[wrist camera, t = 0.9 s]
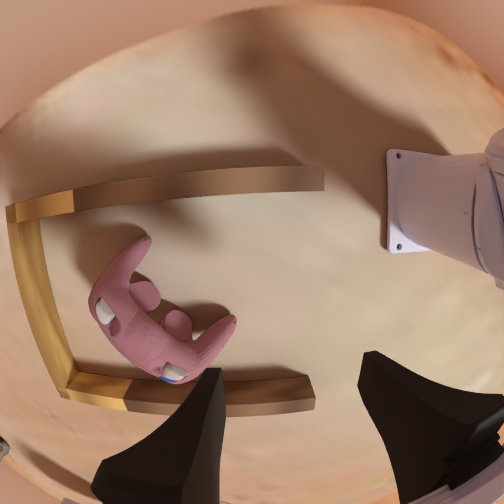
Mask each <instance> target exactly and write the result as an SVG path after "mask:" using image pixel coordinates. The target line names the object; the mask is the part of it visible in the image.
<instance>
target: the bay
mask: <svg viewBox="0 0 504 504" xmlns="http://www.w3.org/2000/svg"><path fill="white" fill-rule="evenodd" d="M296 191H324V170H323V166H266V167H244V168H227V169H213V170H202V171H191V172H181V173H172V174H164V175H156V176H148V177H141V178H134V179H128V180H121V181H115V182H109V183H104V184H98V185H93V186H88V187H83V188H78V189H73V190H68V191H64V192H59V193H55V194H51V195H46V196H42V197H38V198H34V199H31V200H27V201H23V202H19V203H16V204H12V205H9V206H6V207H5V208H6V219H7V228H8V236H9V242H10V249H11V254H12V260H13V265H14V270H15V274H16V279H17V283H18V287H19V291H20V295H21V298H22V302H23V305H24V309H25V312H26V315H27V318H28V321H29V324H30V327H31V330H32V333H33V336H34V338H35V341H36V344H37V346H38V349H39V351H40V354H41V356H42V358H43V361H44V363H45V365H46V368H47V370H48V372H49V374H50V376H51V378H52V380H53V383H54V385H55V387H56V389H57V391H58V392H59V394H60V396H61V397H62V398H65V399H69V400H73V401H77V402H82V403H86V404H91V405H96V406H101V407H106V408H112V409H118V410H125V411H132V412H139V413H148V414H158V415H170V416H171V415H172V414H173V413H174V412H175V411H176V410H177V409H178V407H179V406H180V405H181V404H182V403H183V401H184V400H185V399H186V398H187V396H188V395H189V394H190V392H191V391H192V389H193V388H194V387H195V385H196V384H197V382H185V383H182V384H172V383H168V382H166V381H152V380H139V379H128V378H119V377H110V376H103V375H96V374H89V373H83V372H79V371H78V369H77V366H76V364H75V361H74V359H73V356H72V354H71V351H70V348H69V346H68V343H67V340H66V337H65V334H64V331H63V328H62V325H61V322H60V319H59V315H58V312H57V309H56V305H55V301H54V298H53V294H52V290H51V286H50V281H49V277H48V272H47V267H46V262H45V257H44V251H43V245H42V239H41V232H40V224H39V218H43V217H48V216H53V215H59V214H65V213H71V212H77V211H83V210H89V209H96V208H103V207H110V206H117V205H125V204H133V203H141V202H150V201H159V200H168V199H179V198H190V197H202V196H215V195H229V194H246V193H267V192H296ZM223 386H224V392H225V399H226V417H245V416H262V415H274V414H285V413H294V412H301V411H309V410H314V407H315V399H316V397H315V394H314V391H313V388H312V385H311V382H310V379H309V376H301V377H292V378H282V379H271V380H258V381H239V382H223Z"/></svg>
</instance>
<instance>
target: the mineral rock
mask: <svg viewBox="0 0 504 504" xmlns="http://www.w3.org/2000/svg"><path fill="white" fill-rule="evenodd" d="M9 448H10V447H9V446H8V445H7V443H6V442H5V441H3V440H2V439H1V438H0V462H1V459H2V458H3V457H5V456H6V455H7V454H8V452H9Z"/></svg>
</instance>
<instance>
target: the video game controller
mask: <svg viewBox="0 0 504 504" xmlns="http://www.w3.org/2000/svg"><path fill="white" fill-rule="evenodd" d="M150 244H151V238H150V237H149V236H142V237H140V238H138V239H136V240H135V241H133V242H132V243H131V244H130V245H128V246H127V247H126V248H125V249H124V250H123V251H122V252H121V253H120V254H119V255H118V256H117V257H116V258H115V259H114V260H113V261H112V262H111V263H110V264H109V265H108V266H107V268H106V269H105V271H104V272H103V273H102V275H101V276H100V277H99V278H98V280H97V281H96V283H95V284H94V286H93V288H92V290H91V293H90V295H89V299H88V304H89V309H90V312H91V314H92V316H93V318H94V319H95V320H96V321H97V322H98V324H99V326H100V328H101V330H102V331H103V333H104V334H105V336H106V337H107V338H108V340H109V341H110V342H111V344H112V345H113V346H114V347H115V348H116V349H117V350H118V351H119V352H120V353H121V354H122V355H123V356H124V357H125V358H127V359H128V360H129V361H131V362H132V363H133V364H134V365H136V366H137V367H139V368H141V369H142V370H144V371H146V372H148V373H149V374H151V375H154V376H156V377H159V378H161V379H162V380H164V381H166V382H168V383H172V384H182V383H185V382H188V381H190V380H192V379H195V378H196V377H198V376H199V375H200V374H201V373H202V372H203V371H204V370H205V369H206V368H207V366H208V365H209V364H210V363H211V362H212V361H213V360H214V358H215V357H216V356H217V355H218V353H219V352H220V351H221V349H222V348H223V347H224V345H225V344H226V343H227V341H228V340H229V338H230V337H231V336H232V334H233V332H234V330H235V327H236V322H237V319H236V317H235V316H234V315H227V316H225V317H223V318H221V319H219V320H218V321H216V322H215V323H214V324H213V325H211V326H210V327H209V328H208V329H207V330H206V331H204V332H203V333H202V334H201V335H200V336H199V337H198V338H197V340H194V341H193V339H192V322H191V320H190V318H189V317H188V316H187V315H186V314H185V313H184V312H182V311H179V310H173V311H171V312H169V313H168V314H167V315H165V316H164V317H163V318H162V319H161V321H160V325H159V324H157V323H156V322H155V321H154V320H153V319H152V318H151V317H149V316H148V315H147V314H148V313H150V312H151V311H152V310H154V309H155V308H156V307H157V306H158V305H159V304H160V300H161V297H160V293H159V291H158V289H157V288H156V287H155V286H154V285H153V284H152V283H150V282H148V281H140V282H137V283H131V284H130V282H129V281H130V278H131V276H132V274H133V272H134V270H135V269H136V267H137V266H138V264H139V263H140V262H141V260H142V259H143V257H144V256H145V254H146V252H147V251H148V249H149V247H150Z"/></svg>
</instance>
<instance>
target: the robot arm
mask: <svg viewBox="0 0 504 504" xmlns="http://www.w3.org/2000/svg"><path fill="white" fill-rule="evenodd" d="M397 153H398V154H399V159H398V158H397V156H396V154H397ZM386 160H387V181H388V229H387V250H388V251H389V252H390V253H393V254H394V253H407V252H420V251H435V252H438V253H440V254H443V255H445V256H448V257H450V258H453V259H455V260H457V261H460V262H462V263H465V264H467V265H469V266H472V267H474V268H476V269H479V270H481V271H483V272H485V273H488V274H490V275H491V276H493V277H494V279H495V281H496V287H498V288H500V289H502V290H504V128H503V129H501V130H499V131H498V132H496V133H495V134H494V135H493V136H492V137H491V139H490V141H489V144H488V146H487V147H486V149H485V152H484V153H478V154H462V155H449V156H440V155H434V154H428V153H422V152H415V151H407V150H399V149H389V150H388V151H387V153H386ZM398 244H399V248H398V249H397V245H398ZM357 386H358V389H359V392H360V395H361V398H362V401H363V403H364V405H365V407H366V409H367V411H368V413H369V415H370V417H371V418H372V420H373V422H374V424H375V426H376V428H377V430H378V431H379V433H380V435H381V437H382V440H383V442H384V444H385V447H386V450H387V453H388V455H389V458H390V462H391V465H392V468H393V472H394V476H395V480H396V484H397V488H398V494H399V500H400V504H495V503H496V502H497V501H498V500H499V499H501V498H502V497H503V496H504V444H503V445H502V446H501V445H500V443H499V442H498V440H499V439H500V436H499V434H498V433H497V432H498V431H499V429H500V428H501V426H502V425H503V423H504V396H503V395H502V394H483V393H475V392H468V391H463V390H459V389H455V388H451V387H448V386H444V385H442V384H439V383H436V382H433V381H431V380H429V379H426V378H424V377H422V376H420V375H418V374H416V373H414V372H412V371H411V370H409V369H407V368H405V367H403V366H402V365H400V364H398V363H397V362H395V361H393V360H391V359H390V358H388V357H386V356H385V355H383V354H381V353H379V352H378V351H376V350H375V351H370V352H365V353H364V355H363V360H362V366H361V371H360V376H359V380H358V385H357ZM225 421H226V399H225V392H224V386H223V379H222V372H221V368H206V369H205V370H204V372H203V374H202V376H201V377H200V379H199V381H198V382H197V384H196V385H195V387H194V388H193V389H192V391H191V392H190V394H189V395H188V396H187V398H186V399H185V400H184V401H183V403H182V404H181V405H180V406H179V407H178V409H177V410H176V411H175V412H174V413H173V414H172V415H171V416H170V417H169V418H168V419H167V420H166V421H165V422H164V423H163V424H162V425H161V426H160V427H158V428H157V429H156V430H155V431H153V432H152V433H151V434H150V435H148V436H147V437H146V438H144V439H143V440H141V441H140V442H138V443H136V444H135V445H133V446H132V447H130V448H128V449H126V450H124V451H122V452H120V453H118V454H116V455H114V456H111V457H109V458H107V459H104V460H102V462H101V464H100V466H99V467H98V469H97V472H96V474H95V477H94V479H93V482H92V484H91V487H90V488H91V491H92V492H93V494H94V495H95V496H96V497H97V498H98V499H99V500H100V501H101V502H103V503H104V504H220V502H219V472H220V457H221V450H222V443H223V436H224V428H225ZM61 504H79V503H77V502H74V501H72V500H70V499H67V498H63V501H62V503H61Z"/></svg>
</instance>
